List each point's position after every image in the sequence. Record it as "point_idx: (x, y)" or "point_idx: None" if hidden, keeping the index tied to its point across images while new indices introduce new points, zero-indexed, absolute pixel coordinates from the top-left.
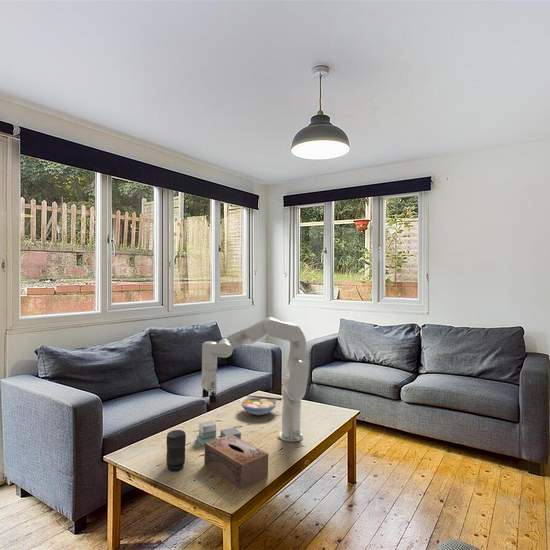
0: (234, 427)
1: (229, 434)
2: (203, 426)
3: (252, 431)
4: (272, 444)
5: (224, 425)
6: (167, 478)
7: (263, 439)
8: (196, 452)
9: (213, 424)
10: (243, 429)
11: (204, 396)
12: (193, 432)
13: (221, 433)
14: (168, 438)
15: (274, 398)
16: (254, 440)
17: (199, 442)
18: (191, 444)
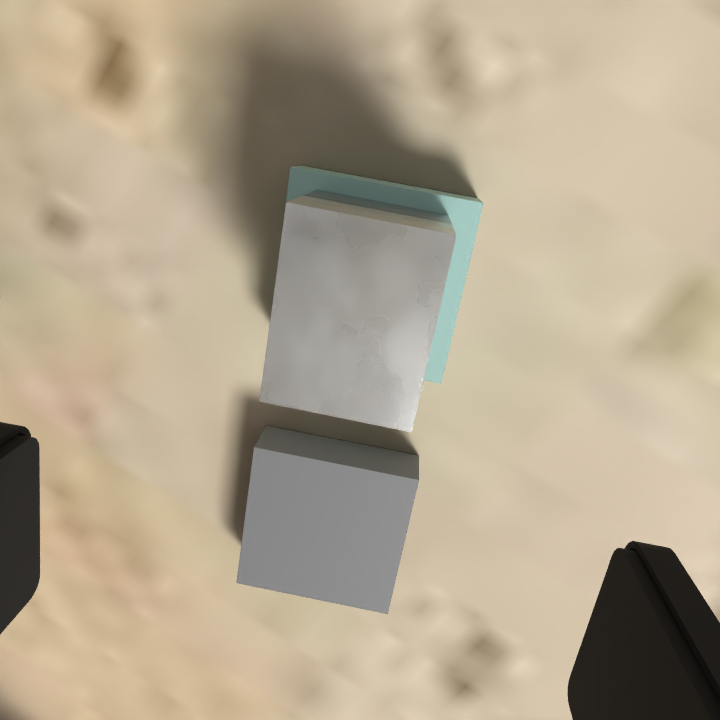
0: (385, 611)
1: (268, 487)
2: (299, 221)
3: (305, 691)
4: (13, 655)
5: (584, 598)
6: None
7: (123, 662)
8: (197, 36)
9: (283, 375)
10: (387, 665)
11: (612, 599)
12: (670, 264)
13: (393, 461)
14: None
15: None
16: (143, 604)
17: (379, 180)
18: (405, 86)
